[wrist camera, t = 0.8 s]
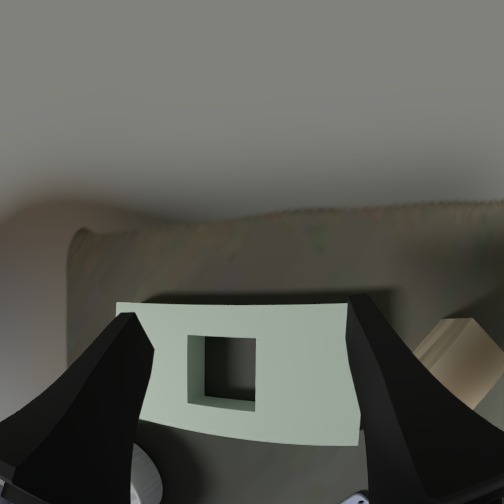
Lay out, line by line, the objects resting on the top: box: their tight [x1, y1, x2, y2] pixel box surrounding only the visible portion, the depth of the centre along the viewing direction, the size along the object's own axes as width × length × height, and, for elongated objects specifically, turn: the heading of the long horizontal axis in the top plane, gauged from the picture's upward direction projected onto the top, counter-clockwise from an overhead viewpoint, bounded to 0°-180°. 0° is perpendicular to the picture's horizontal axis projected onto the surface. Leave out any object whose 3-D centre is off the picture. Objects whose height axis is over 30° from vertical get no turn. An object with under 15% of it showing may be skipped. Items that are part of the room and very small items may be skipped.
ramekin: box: [131, 443, 163, 504], centre depth 23 cm, size 11×11×5 cm
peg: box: [412, 318, 504, 410], centre depth 17 cm, size 4×4×7 cm
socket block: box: [116, 302, 361, 446], centre depth 23 cm, size 20×10×3 cm, turn 90°
